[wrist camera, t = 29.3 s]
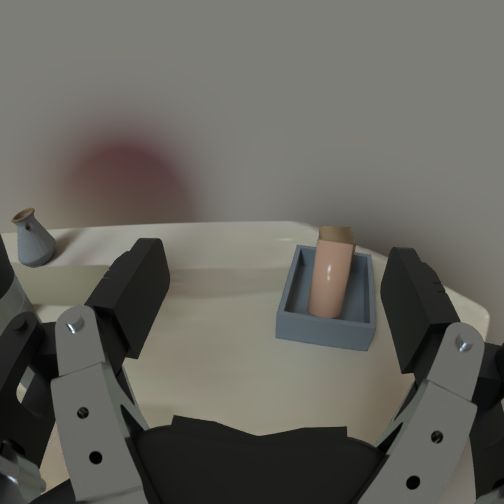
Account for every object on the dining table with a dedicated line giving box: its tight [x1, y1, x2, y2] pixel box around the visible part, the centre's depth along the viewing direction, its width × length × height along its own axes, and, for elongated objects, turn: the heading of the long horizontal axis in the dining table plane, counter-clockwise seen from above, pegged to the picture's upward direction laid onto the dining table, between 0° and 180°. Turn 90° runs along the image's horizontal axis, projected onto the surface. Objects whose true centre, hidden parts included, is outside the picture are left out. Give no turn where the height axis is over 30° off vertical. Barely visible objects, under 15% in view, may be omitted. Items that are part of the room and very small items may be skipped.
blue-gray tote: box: [276, 245, 376, 351], centre depth 46 cm, size 14×18×5 cm
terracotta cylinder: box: [307, 239, 353, 318], centre depth 40 cm, size 5×5×10 cm
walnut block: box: [318, 226, 356, 295], centre depth 47 cm, size 5×5×10 cm
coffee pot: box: [12, 208, 56, 268], centre depth 53 cm, size 21×12×15 cm, turn 47°
